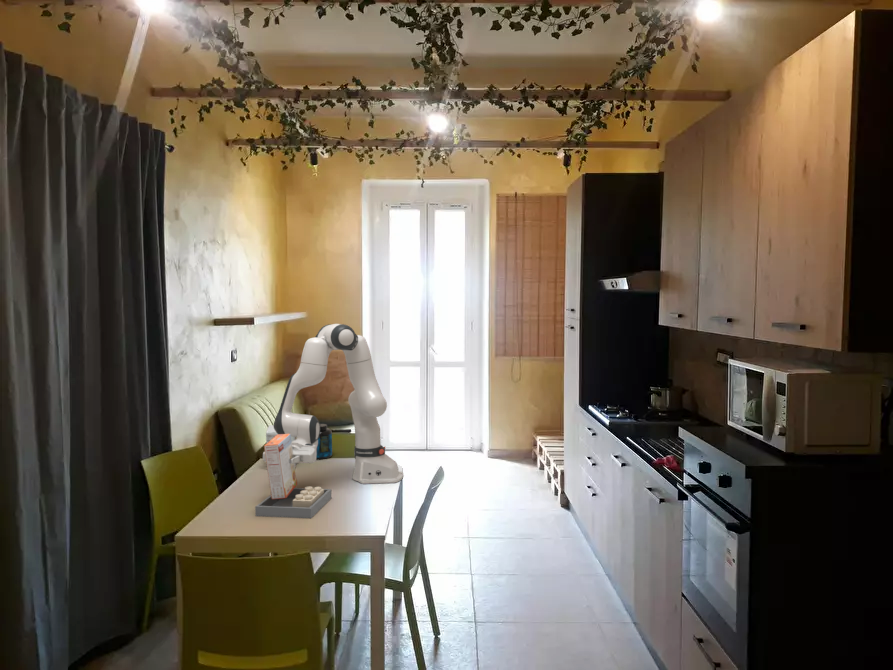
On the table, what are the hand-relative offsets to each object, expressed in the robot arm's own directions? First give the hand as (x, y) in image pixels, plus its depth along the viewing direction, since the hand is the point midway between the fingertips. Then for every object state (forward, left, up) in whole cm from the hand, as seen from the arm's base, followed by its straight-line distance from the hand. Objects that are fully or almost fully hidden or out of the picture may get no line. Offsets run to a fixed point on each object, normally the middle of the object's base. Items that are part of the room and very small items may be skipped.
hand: (281, 461), depth 224 cm
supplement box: (+25, -58, -18) cm, 66 cm away
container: (+12, -74, -18) cm, 77 cm away
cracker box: (-1, 0, -12) cm, 12 cm away
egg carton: (-11, 0, -17) cm, 20 cm away
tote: (-5, 0, -18) cm, 19 cm away
